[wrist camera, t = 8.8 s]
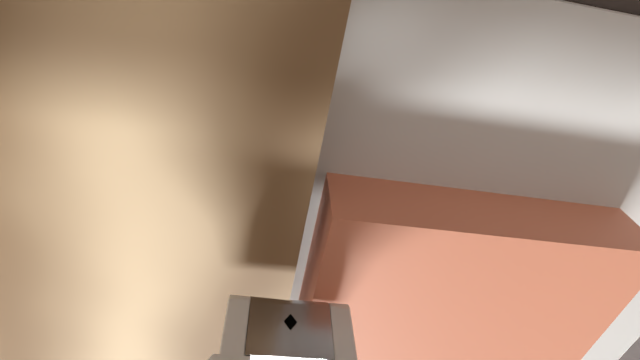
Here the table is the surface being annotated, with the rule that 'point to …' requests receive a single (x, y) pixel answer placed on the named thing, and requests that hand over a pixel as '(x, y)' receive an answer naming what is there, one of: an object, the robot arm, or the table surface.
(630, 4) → the table surface
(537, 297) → the pink rectangular block
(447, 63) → the mat
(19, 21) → the riser
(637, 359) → the table surface
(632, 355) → the table surface
